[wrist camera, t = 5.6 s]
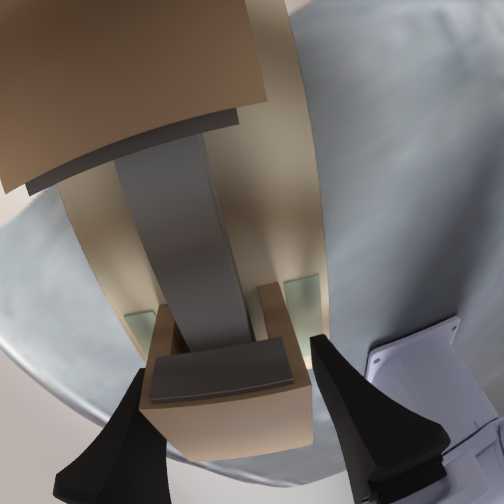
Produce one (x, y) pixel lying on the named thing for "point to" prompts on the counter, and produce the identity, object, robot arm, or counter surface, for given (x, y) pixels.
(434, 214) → the counter surface
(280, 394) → the forked wooden block
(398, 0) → the counter surface
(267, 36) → the rail board
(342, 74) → the counter surface
